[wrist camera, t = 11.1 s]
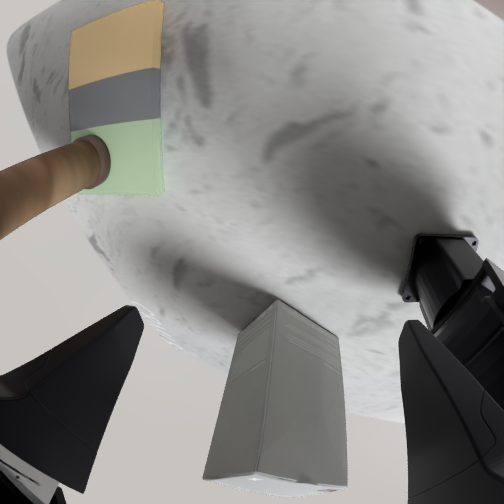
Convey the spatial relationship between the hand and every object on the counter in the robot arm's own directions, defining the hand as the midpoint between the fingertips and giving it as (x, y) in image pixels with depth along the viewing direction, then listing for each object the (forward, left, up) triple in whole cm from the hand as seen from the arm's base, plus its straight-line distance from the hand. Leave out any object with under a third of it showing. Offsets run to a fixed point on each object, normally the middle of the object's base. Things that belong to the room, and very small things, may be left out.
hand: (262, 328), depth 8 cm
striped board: (-9, -13, -13) cm, 21 cm away
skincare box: (+14, 0, -13) cm, 19 cm away
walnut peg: (-5, -16, -12) cm, 20 cm away
